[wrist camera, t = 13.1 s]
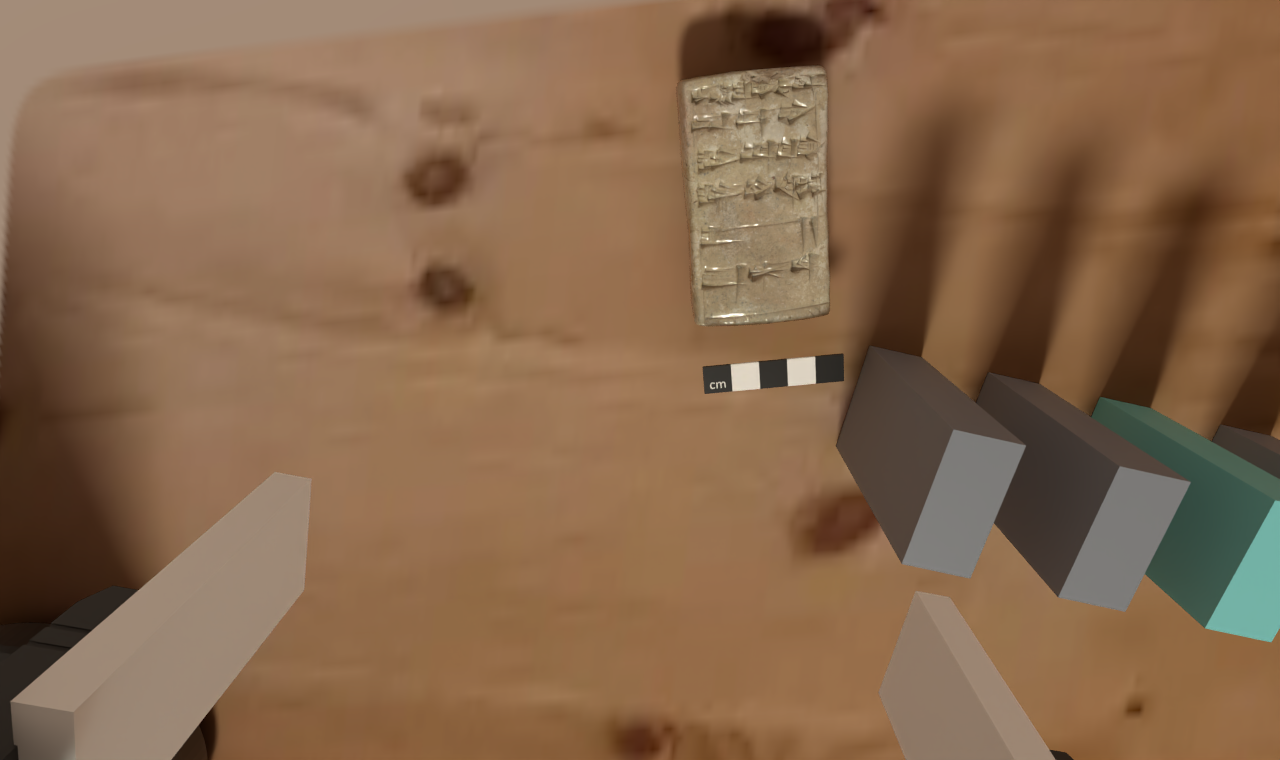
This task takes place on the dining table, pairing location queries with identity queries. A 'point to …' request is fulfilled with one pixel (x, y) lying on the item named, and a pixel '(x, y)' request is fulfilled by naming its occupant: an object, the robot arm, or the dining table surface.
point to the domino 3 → (1211, 526)
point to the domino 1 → (926, 461)
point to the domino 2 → (1079, 496)
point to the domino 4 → (1251, 447)
